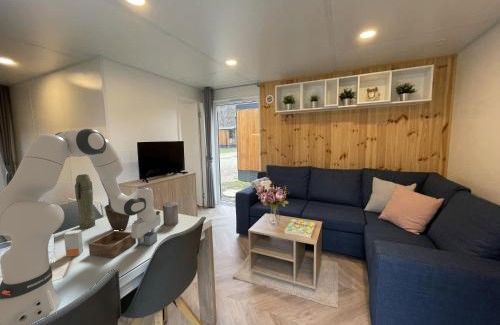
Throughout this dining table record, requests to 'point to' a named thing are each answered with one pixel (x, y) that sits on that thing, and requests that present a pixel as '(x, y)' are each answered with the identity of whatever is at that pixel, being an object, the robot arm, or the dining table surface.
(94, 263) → the dining table surface
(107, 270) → the dining table surface
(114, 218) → the plant pot
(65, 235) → the skincare box
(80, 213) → the thermos
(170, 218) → the pillar candle
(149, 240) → the box
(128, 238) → the big crate
